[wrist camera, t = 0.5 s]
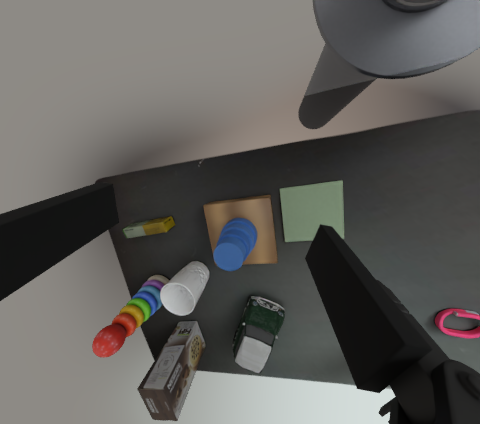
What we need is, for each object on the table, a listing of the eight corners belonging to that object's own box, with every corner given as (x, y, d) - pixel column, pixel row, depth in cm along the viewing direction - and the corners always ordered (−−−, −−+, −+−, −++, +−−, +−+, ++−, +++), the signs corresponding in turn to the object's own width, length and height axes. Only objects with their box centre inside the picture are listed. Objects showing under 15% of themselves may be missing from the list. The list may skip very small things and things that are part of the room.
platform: (270, 194, 37) (270, 197, 33) (277, 254, 39) (277, 263, 36) (209, 202, 40) (203, 205, 36) (220, 257, 42) (214, 265, 39)
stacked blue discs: (255, 215, 34) (247, 233, 25) (259, 249, 36) (254, 277, 26) (221, 219, 36) (202, 236, 26) (226, 250, 37) (210, 278, 28)
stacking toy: (169, 302, 49) (110, 378, 31) (146, 289, 50) (74, 356, 32) (178, 282, 47) (118, 350, 29) (153, 268, 47) (79, 328, 29)
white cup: (204, 290, 46) (185, 322, 36) (179, 274, 46) (154, 302, 37) (217, 269, 43) (201, 297, 34) (191, 253, 44) (168, 275, 34)
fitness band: (487, 312, 34) (496, 319, 32) (476, 336, 35) (484, 343, 34) (438, 305, 35) (446, 311, 34) (430, 328, 37) (436, 334, 35)
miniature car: (286, 301, 42) (289, 331, 34) (263, 352, 47) (261, 387, 39) (251, 288, 43) (247, 313, 35) (232, 339, 48) (224, 371, 40)
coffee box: (178, 321, 50) (135, 388, 35) (197, 320, 49) (162, 389, 33) (187, 346, 52) (151, 420, 36) (206, 345, 50) (177, 423, 35)
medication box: (137, 231, 45) (125, 239, 42) (133, 222, 45) (120, 229, 41) (176, 225, 42) (166, 232, 39) (172, 215, 42) (162, 221, 38)
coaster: (341, 180, 33) (342, 180, 33) (343, 237, 36) (344, 238, 35) (279, 188, 36) (279, 188, 36) (284, 241, 38) (285, 242, 38)
